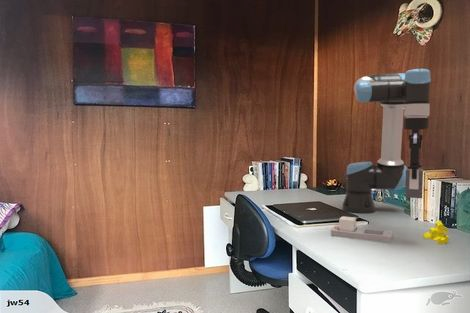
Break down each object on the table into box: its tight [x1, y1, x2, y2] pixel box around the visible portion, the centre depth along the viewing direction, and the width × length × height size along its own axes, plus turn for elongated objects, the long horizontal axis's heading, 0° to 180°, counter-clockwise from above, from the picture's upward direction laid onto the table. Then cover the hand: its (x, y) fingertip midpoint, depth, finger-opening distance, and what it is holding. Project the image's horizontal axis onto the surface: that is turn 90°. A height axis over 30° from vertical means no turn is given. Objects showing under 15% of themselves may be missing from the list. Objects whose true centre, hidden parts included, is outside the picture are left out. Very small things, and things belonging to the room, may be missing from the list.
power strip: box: [330, 224, 394, 244], centre depth 137 cm, size 8×20×4 cm, turn 63°
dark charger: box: [404, 168, 424, 199], centre depth 127 cm, size 5×5×9 cm
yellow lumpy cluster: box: [422, 220, 450, 245], centre depth 135 cm, size 6×8×8 cm
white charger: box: [338, 216, 357, 232], centre depth 139 cm, size 5×5×6 cm
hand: (414, 187), depth 128 cm, fingers closed on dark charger, 5 cm apart
